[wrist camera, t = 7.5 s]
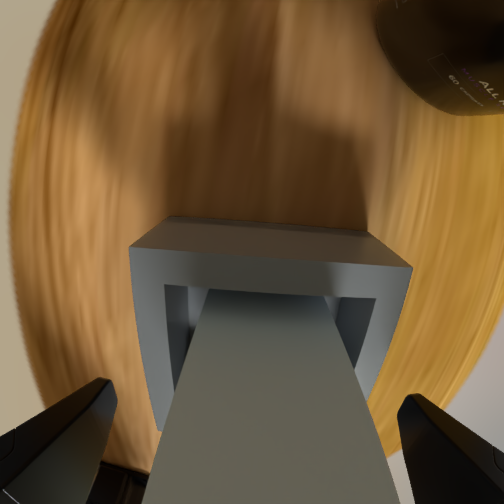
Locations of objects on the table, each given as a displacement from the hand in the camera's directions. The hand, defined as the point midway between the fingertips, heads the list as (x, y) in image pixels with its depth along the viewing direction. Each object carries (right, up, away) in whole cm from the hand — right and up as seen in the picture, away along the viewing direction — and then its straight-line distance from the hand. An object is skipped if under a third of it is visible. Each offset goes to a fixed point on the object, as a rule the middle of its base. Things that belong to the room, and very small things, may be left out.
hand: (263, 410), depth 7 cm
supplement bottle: (+8, +14, +1) cm, 16 cm away
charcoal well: (0, +2, +5) cm, 6 cm away
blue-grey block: (0, +1, +4) cm, 4 cm away
